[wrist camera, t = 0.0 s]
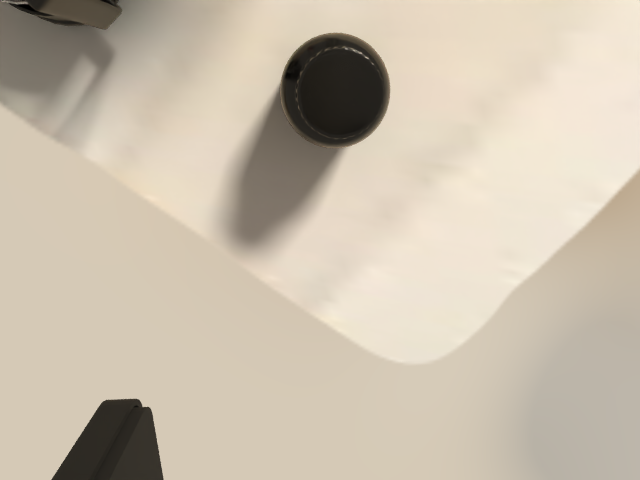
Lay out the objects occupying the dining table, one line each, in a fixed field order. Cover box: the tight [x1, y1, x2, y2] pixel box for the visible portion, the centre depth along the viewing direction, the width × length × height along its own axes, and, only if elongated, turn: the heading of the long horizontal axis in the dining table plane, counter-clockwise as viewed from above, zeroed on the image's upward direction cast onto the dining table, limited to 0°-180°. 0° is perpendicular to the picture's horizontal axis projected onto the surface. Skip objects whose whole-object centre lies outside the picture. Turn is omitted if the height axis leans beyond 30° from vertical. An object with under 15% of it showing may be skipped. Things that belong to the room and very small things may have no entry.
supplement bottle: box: [280, 33, 390, 148], centre depth 31 cm, size 7×7×12 cm
